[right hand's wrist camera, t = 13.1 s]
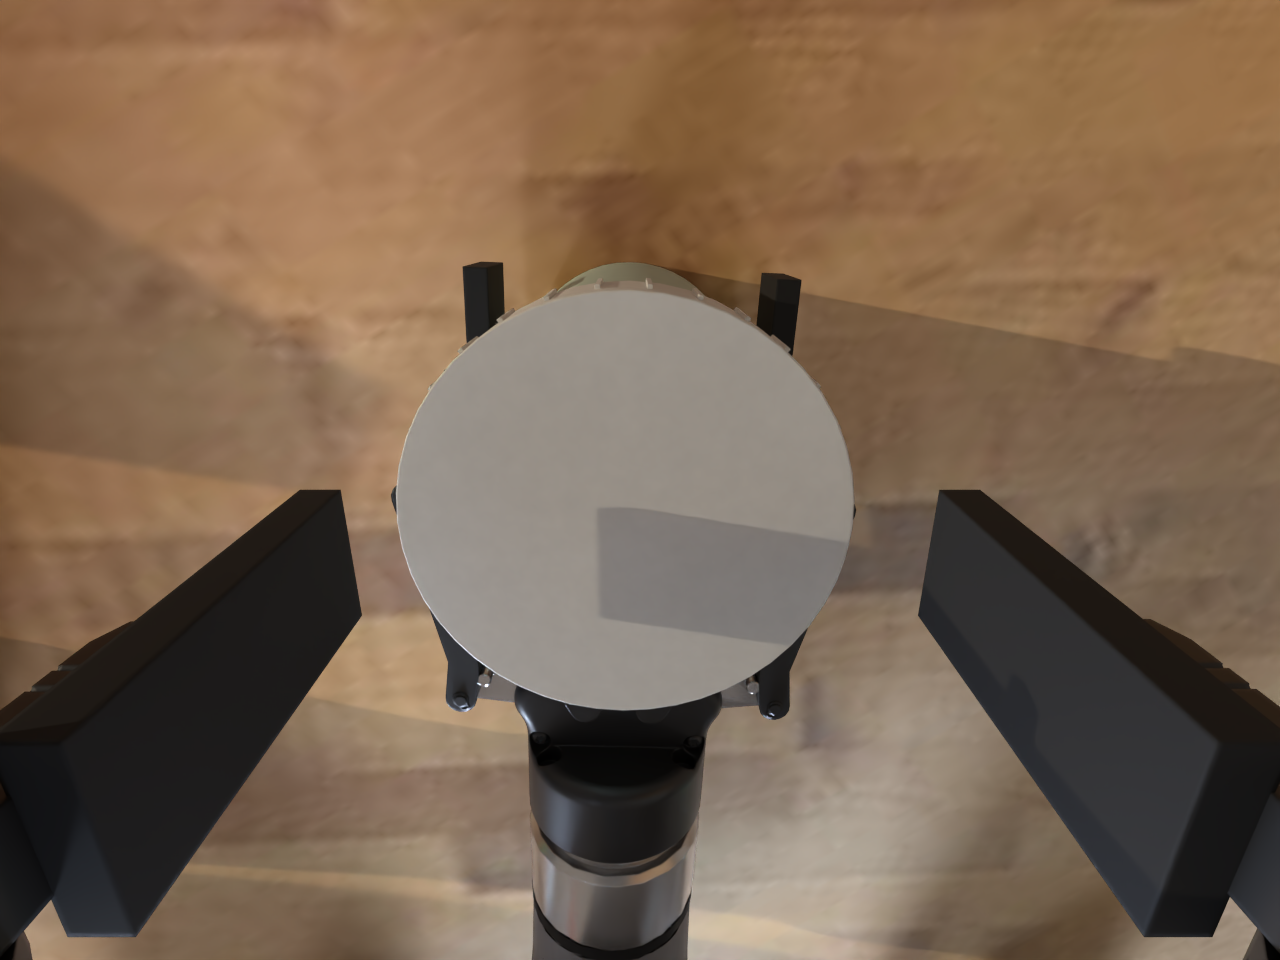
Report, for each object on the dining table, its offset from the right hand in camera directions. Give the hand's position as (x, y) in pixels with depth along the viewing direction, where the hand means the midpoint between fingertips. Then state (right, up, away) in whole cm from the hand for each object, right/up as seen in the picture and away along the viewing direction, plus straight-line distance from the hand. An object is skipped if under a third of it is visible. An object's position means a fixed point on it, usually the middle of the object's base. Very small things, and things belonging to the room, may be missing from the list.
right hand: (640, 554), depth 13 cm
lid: (0, +1, +2) cm, 2 cm away
